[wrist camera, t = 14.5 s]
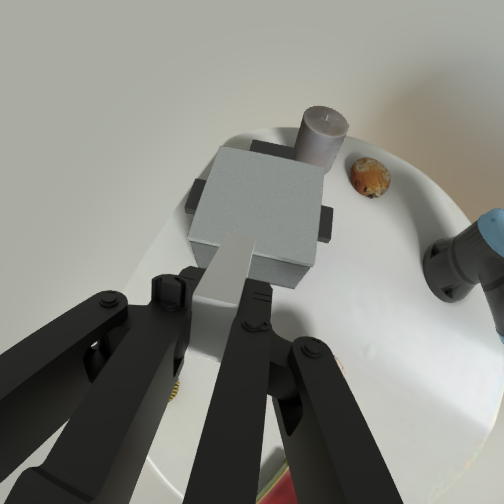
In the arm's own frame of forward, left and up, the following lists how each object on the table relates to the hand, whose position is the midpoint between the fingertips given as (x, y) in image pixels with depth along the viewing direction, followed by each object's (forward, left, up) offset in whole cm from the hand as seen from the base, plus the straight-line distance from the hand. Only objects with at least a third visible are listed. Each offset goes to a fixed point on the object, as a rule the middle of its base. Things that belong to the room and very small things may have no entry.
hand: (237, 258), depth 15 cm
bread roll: (-37, -27, -36) cm, 59 cm away
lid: (-8, -19, -24) cm, 31 cm away
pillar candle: (-24, -35, -36) cm, 56 cm away
